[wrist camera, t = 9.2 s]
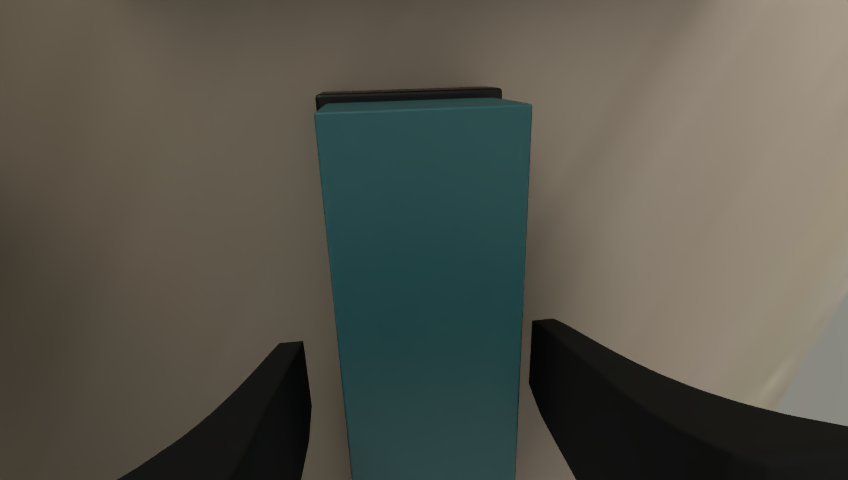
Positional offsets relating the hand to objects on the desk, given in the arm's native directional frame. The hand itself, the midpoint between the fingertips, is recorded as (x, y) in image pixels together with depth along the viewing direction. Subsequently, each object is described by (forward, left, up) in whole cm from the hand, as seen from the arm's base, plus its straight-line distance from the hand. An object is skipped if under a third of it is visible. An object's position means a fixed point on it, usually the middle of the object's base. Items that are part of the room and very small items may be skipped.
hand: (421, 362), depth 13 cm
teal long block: (0, 0, -2) cm, 2 cm away
